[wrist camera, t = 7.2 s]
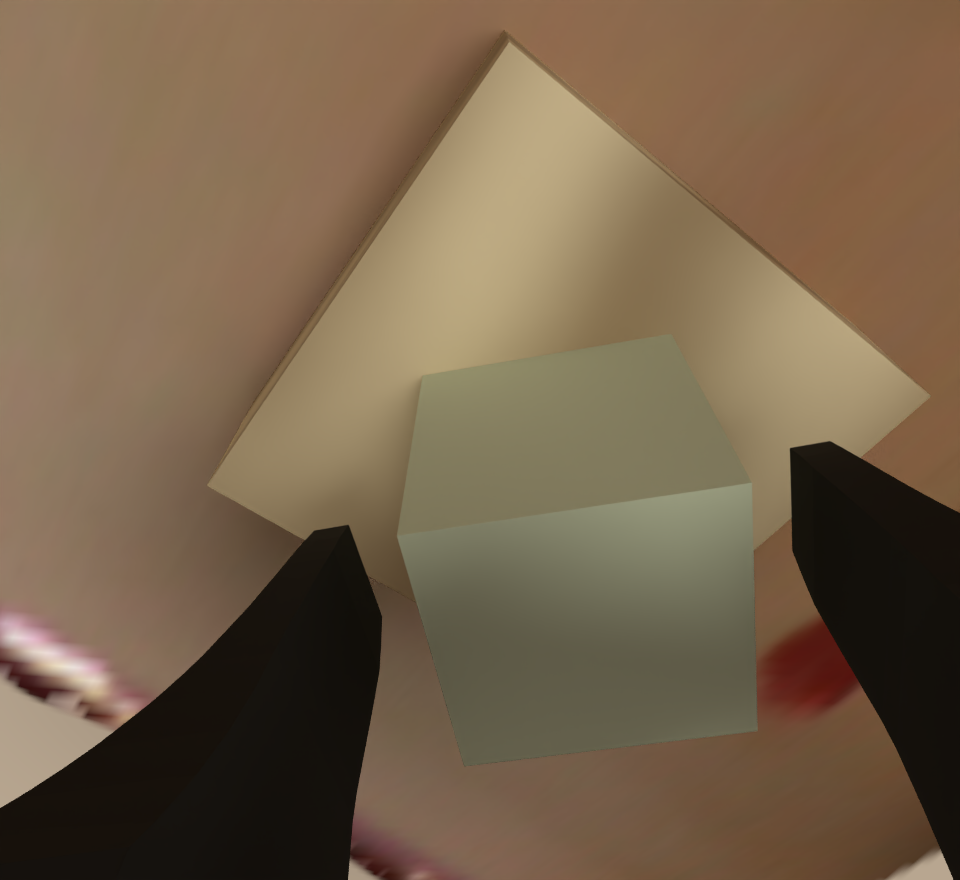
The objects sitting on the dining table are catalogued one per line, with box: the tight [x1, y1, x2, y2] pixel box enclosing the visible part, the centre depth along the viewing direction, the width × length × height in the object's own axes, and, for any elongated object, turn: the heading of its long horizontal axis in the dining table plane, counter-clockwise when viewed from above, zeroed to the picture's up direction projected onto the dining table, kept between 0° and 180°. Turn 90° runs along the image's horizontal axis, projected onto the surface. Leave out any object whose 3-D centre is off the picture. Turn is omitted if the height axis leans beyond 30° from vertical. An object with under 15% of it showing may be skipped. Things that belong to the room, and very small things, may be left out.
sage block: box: [397, 334, 757, 766], centre depth 14 cm, size 5×5×5 cm
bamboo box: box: [207, 30, 931, 602], centre depth 17 cm, size 10×10×4 cm
